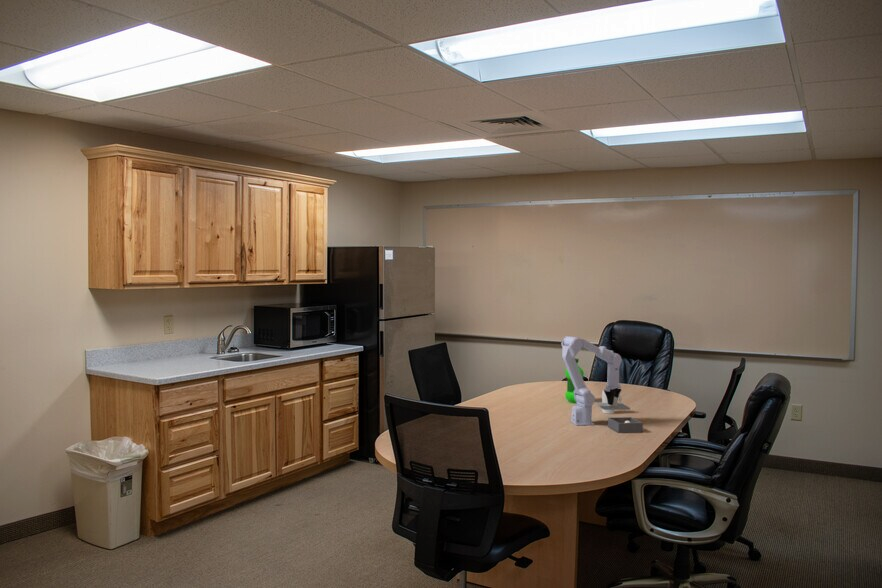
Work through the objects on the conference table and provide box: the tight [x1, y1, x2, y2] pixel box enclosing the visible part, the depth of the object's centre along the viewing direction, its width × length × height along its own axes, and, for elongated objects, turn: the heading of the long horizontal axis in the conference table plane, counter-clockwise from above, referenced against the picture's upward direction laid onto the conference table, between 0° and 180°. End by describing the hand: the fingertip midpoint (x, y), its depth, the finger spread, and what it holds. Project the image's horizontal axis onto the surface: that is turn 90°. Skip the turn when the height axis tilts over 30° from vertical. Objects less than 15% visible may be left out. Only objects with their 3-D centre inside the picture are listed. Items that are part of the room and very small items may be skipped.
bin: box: [607, 416, 644, 434], centre depth 310 cm, size 12×12×4 cm
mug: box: [601, 388, 622, 415], centre depth 347 cm, size 10×7×12 cm, turn 78°
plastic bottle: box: [564, 358, 585, 404], centre depth 374 cm, size 10×10×25 cm
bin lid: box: [595, 397, 631, 411], centre depth 326 cm, size 13×13×5 cm
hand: (612, 403), depth 327 cm, fingers closed on bin lid, 5 cm apart
